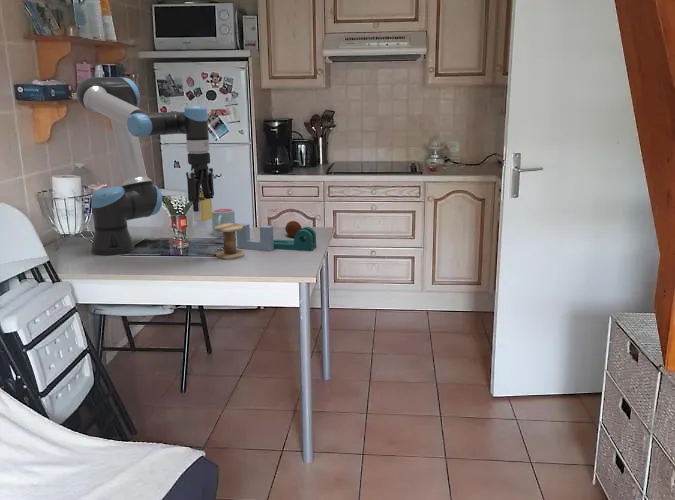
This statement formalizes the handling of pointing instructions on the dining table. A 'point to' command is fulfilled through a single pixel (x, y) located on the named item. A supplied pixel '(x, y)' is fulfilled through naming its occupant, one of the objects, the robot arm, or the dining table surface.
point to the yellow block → (206, 208)
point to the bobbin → (229, 241)
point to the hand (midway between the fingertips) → (202, 218)
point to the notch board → (262, 244)
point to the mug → (222, 219)
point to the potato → (292, 228)
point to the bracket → (298, 241)
